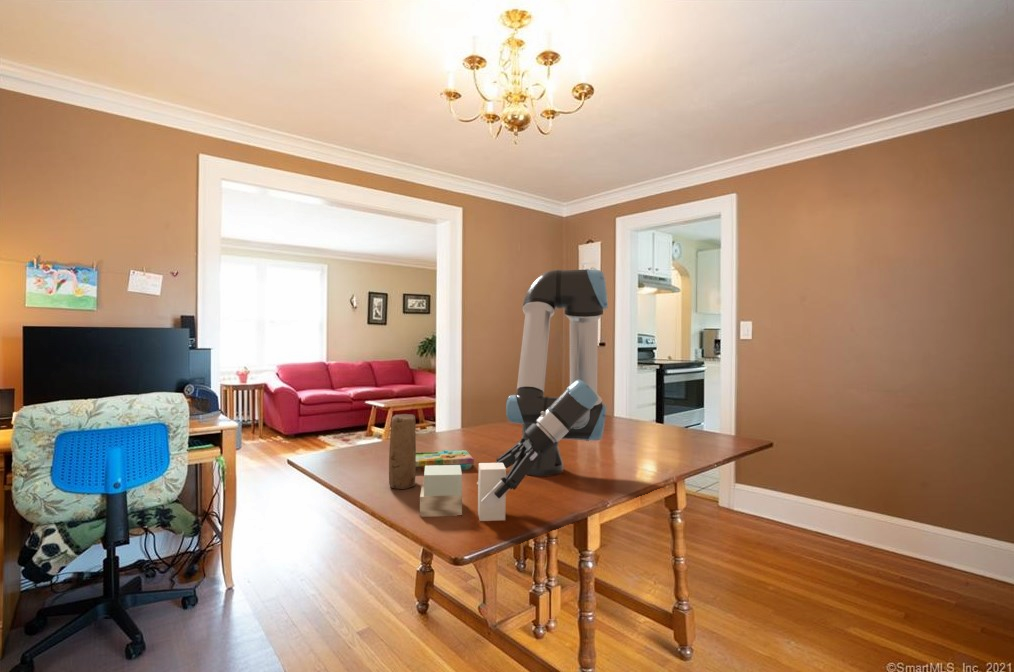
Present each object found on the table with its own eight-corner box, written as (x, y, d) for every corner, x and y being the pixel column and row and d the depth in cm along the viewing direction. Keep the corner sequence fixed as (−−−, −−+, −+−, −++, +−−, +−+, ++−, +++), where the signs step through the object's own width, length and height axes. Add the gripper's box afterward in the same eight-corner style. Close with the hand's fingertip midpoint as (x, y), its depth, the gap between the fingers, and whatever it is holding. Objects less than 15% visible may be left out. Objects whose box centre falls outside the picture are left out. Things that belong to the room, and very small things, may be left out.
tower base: (460, 502, 129) (460, 483, 129) (461, 516, 119) (462, 495, 119) (421, 503, 128) (421, 484, 128) (419, 517, 118) (420, 496, 118)
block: (415, 489, 138) (416, 418, 138) (387, 491, 137) (389, 418, 137) (415, 478, 149) (416, 412, 149) (389, 479, 148) (390, 412, 148)
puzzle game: (473, 456, 160) (410, 459, 155) (473, 470, 160) (410, 474, 155) (467, 448, 172) (408, 450, 166) (466, 461, 172) (408, 464, 166)
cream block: (502, 511, 123) (502, 462, 123) (505, 520, 117) (506, 469, 117) (477, 511, 122) (478, 463, 122) (479, 521, 116) (480, 469, 116)
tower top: (459, 484, 129) (460, 464, 129) (461, 495, 120) (461, 474, 120) (424, 485, 127) (424, 465, 127) (423, 496, 118) (424, 475, 118)
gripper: (525, 413, 133) (468, 471, 131) (545, 431, 108) (475, 502, 106) (544, 433, 134) (488, 490, 132) (568, 455, 109) (499, 526, 107)
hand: (482, 495), depth 119 cm, fingers open, 13 cm apart
